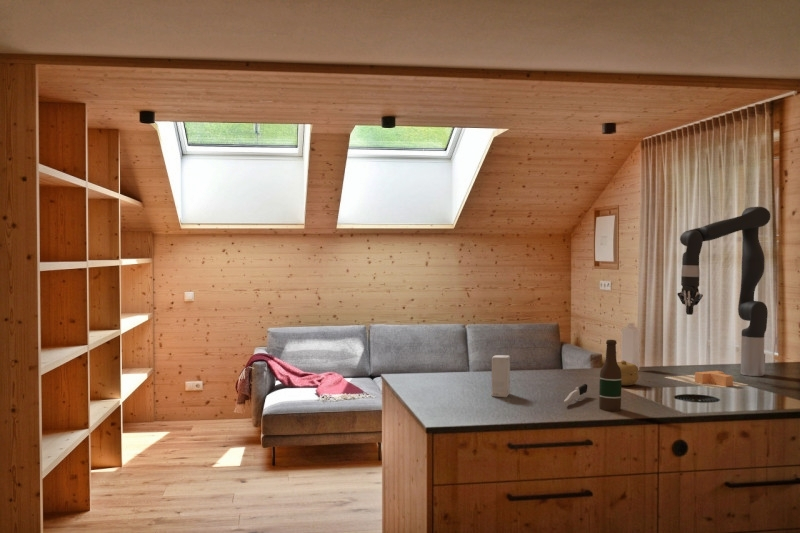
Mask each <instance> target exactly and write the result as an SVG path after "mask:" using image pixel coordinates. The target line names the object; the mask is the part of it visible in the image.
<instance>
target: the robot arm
mask: <svg viewBox="0 0 800 533" xmlns="http://www.w3.org/2000/svg"><path fill="white" fill-rule="evenodd" d="M770 220H771V212H770V211H769V210H768V208H766V207H763V206H752V207H751V206H750V207H747V208H745V209H744V210H743V211H742V213H741V215H739V216H736V217H732V218H727V219H722V220H718V221H716V222H712V223H709V224H706V225H704V226H700V227H697V228H692V229H688V230H686V231H684V232H682V233H681V234H680V238H679V241H680V243H681V244H682V245H683V246H685V247H686V248H685V249H686V250H685V251H684V252H683V254H682V256H681V257H682V261H681V270H680V271H681V274H680V276H681V277H680V278H681V279H680V280H681V281H680V286H682V287H681V291H680V292H677V293H676V294H677V297H678V298H679V300H680V302H681V303H682V305H684V306H685V313H686V315H689V316H690V315H692V316H693V314H694V306H697V305H698V304H699V303H700V301H701V299H702V298H703V296H704V294H703V293H700V290H699V287H700V273H701V272H700V254H701V251H702V248H703V247H702V246H703V242H709V241H713V240H716V239H719V238H722V237H725V236H728V235H731V234H735V233H736V232H739V231H742V232H741V233H742V234H741V235H742V244H741V246H742V248H741V249H742V250H741V252H742V253H741V277H740V279H741V280H740V291H739V299H738V306H737V312H738V316H739V318H740V320H743V321H748V322H749V325H748V327H745V328H743V329H742V330H741V339H740V340H741V341H740V342H741V344H740V346H741V347H740V348H741V349H740V374H741V375H743V376H749V377H763V376H765V375H766V353H765V333H766V332H767V326H768V312H769V311H768V307H767V305H766V304H765V303H764V302H763V301H759V300H758V301H757V300H755V292H756V288H757V286H758V284H759V282H760V281H761V278H762V277H763V275H764V272H765V254H764V250H763V248H762V246H761V243H760V237H759V235H760V234H759V231H760V228H761V227H764V226H766V225H767V224H768V223H769V222H770Z"/></svg>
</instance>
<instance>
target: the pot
mask: <svg viewBox="0 0 800 533" xmlns="http://www.w3.org/2000/svg"><path fill="white" fill-rule="evenodd" d="M617 364H618V366H619V367H620V370H621V377H622V379H621V386H624V387H625V386H632V385H635V383H636V382H637V381H638V380H639V375H638V372H639V371H638V367H637V366H636V365H635V364H632V363H626V361H624V360H623V361H621V360H620V361H619V362H618V361H617Z"/></svg>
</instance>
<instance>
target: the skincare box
mask: <svg viewBox="0 0 800 533" xmlns="http://www.w3.org/2000/svg"><path fill="white" fill-rule="evenodd" d="M510 394H511V355H506V354H505V355H504V354H502V355H501V354H495V355H493V356H492V357H491V397H499V398H508V396H509V395H510Z"/></svg>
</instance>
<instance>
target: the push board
mask: <svg viewBox="0 0 800 533" xmlns="http://www.w3.org/2000/svg"><path fill="white" fill-rule="evenodd" d="M664 378H666V379H669V380H674V381H679V382H683V383H687V384H692V385H696V386H701V387H704V388H705V387H706V388H711V389H721V388H732V387H741V386H744V387H745V386H748V384H745V383H742V382H737V381H733V386H727V387H725V386H720V385H716V384H711V383H705V384H701V383H697V382H695V374H689V375H688V374H687V375H675V376H665V377H664Z"/></svg>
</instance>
